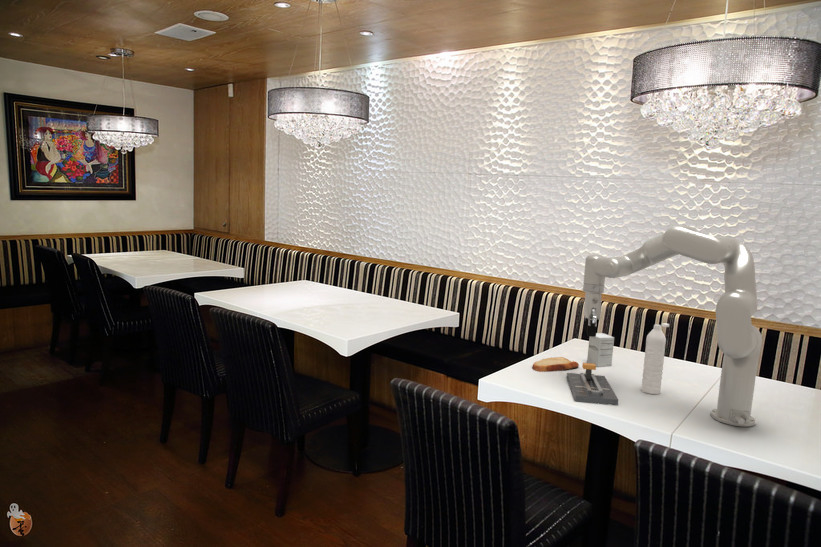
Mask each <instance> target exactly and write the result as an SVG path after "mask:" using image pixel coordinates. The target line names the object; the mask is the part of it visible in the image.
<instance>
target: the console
mask: <svg viewBox="0 0 821 547" xmlns="http://www.w3.org/2000/svg"><path fill="white" fill-rule="evenodd" d="M585 373H586V372H585ZM585 373H583V372H582V373H581V372H579V373H574V372H566V379H567V380H566V381H567V383H568V386H569V388H570V391H571V393H572V397H573V400H574V402H578V403H589V404H598V403H599V404H601V405H608V404H612V405H611V406H619V399H618V396H617V395H616V393H615V392H614V389H613V388H612V386H611V385H610V383H609V381H608V380H607V378H606V376H605V375H599V374H598V375H596V374H593V373H591V380H588V379H586V378H585Z"/></svg>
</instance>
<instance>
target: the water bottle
mask: <svg viewBox="0 0 821 547" xmlns="http://www.w3.org/2000/svg"><path fill="white" fill-rule="evenodd" d="M662 327H664V328H670V323H666V322H665V323H664V322H662V323H661V324H653V329H651V331H649V332H648V334H647V335H646V339H645V350H644V359H643V370H642V380H641V386H640V387H641V392H643V393H646V394H650V395H659V394H660V393H661V390H662V388H661V387H662V378H663V377H662V376H663V370H664V360H665V350H666V345H667V344H666V343H667V338H666V335H665V334H664V331H662V330H663V329H662Z"/></svg>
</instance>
